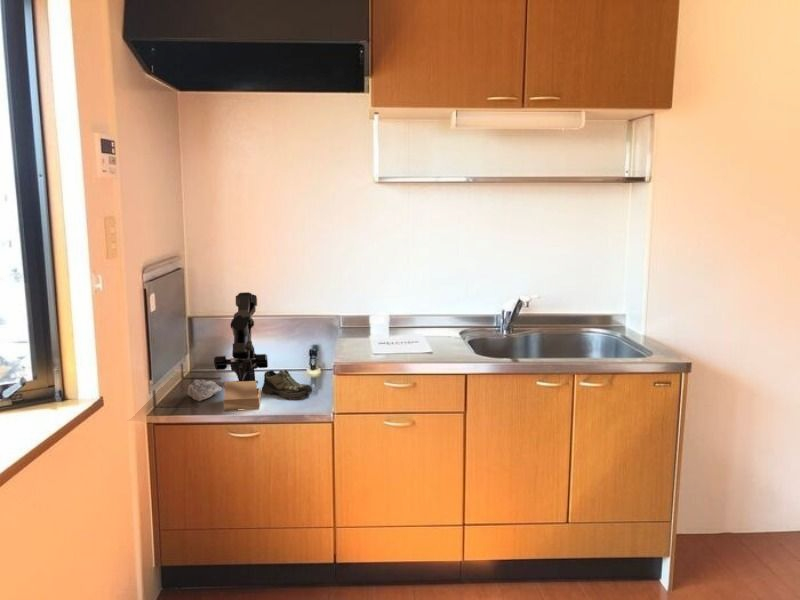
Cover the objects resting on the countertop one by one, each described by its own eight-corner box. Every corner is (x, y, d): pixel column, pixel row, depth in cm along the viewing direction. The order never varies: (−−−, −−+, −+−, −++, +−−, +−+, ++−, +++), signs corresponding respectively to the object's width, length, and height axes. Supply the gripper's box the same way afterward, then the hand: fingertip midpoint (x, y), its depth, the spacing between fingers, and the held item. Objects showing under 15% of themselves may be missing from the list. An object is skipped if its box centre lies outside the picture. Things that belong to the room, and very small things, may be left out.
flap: (224, 382, 235) (224, 382, 234) (256, 380, 236) (256, 380, 236) (225, 399, 234) (225, 399, 234) (257, 398, 236) (256, 398, 236)
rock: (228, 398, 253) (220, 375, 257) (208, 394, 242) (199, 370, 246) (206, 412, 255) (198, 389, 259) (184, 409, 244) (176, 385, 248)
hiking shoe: (303, 402, 245) (303, 377, 244) (255, 394, 254) (254, 370, 252) (316, 395, 253) (315, 371, 251) (268, 388, 261) (267, 365, 260)
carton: (227, 400, 247) (227, 389, 246) (260, 398, 249) (260, 388, 248) (224, 411, 235) (223, 400, 235) (259, 409, 237) (258, 398, 236)
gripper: (213, 334, 242) (210, 372, 233) (266, 332, 244) (266, 370, 235) (216, 350, 251) (214, 387, 242) (267, 348, 253) (267, 385, 244)
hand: (240, 382), depth 241 cm, fingers closed
